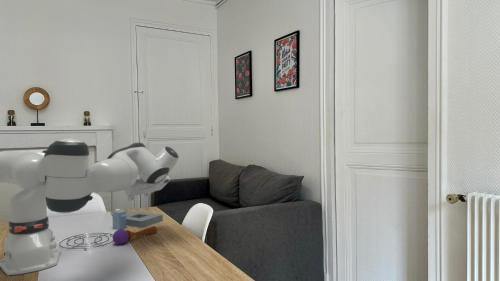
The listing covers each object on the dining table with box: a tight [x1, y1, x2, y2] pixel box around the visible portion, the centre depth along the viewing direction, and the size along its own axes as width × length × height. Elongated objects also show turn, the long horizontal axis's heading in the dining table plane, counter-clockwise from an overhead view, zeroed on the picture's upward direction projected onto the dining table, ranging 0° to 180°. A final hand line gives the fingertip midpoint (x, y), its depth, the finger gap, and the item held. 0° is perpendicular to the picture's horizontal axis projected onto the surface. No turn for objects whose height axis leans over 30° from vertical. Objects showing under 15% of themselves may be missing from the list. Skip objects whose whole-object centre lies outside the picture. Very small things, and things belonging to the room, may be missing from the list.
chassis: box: [126, 210, 164, 228], centre depth 172 cm, size 18×14×3 cm
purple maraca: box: [112, 225, 158, 245], centre depth 144 cm, size 6×6×20 cm
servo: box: [111, 208, 127, 231], centre depth 161 cm, size 7×4×9 cm, turn 61°
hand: (137, 197), depth 155 cm, fingers open, 8 cm apart
